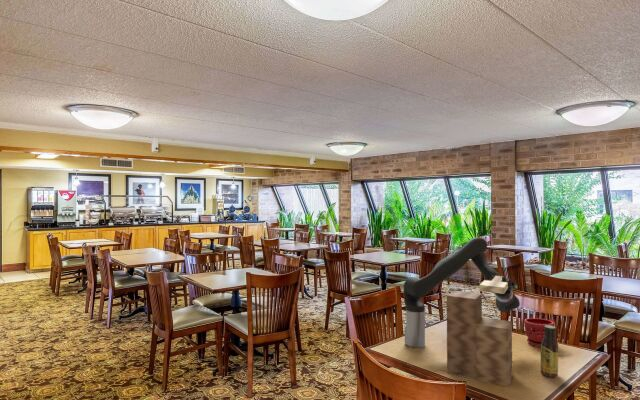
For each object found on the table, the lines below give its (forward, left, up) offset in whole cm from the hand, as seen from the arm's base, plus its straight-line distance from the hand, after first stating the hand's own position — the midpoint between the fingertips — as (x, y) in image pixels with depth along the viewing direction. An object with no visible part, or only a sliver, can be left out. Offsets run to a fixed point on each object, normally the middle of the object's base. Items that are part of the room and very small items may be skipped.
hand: (497, 278), depth 165 cm
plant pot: (+12, +43, -39) cm, 59 cm away
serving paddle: (0, -5, -3) cm, 6 cm away
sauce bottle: (+18, +5, -39) cm, 43 cm away
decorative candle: (-27, +37, -39) cm, 60 cm away
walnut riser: (-6, -10, -38) cm, 40 cm away
